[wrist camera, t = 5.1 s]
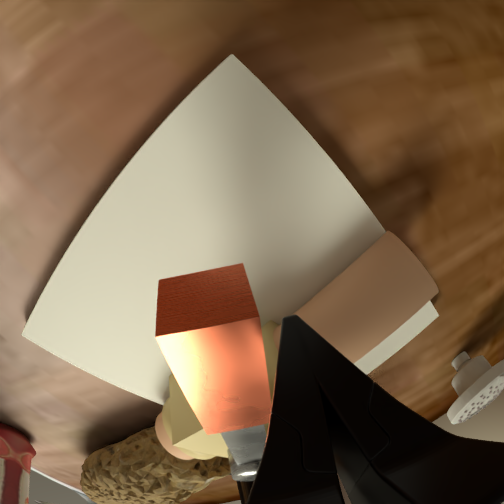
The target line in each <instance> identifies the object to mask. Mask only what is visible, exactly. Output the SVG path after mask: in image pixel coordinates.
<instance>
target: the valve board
mask: <svg viewBox="0 0 504 504" xmlns="http://www.w3.org/2000/svg"><path fill="white" fill-rule="evenodd" d="M240 263H243V265H244V268H245V271H246V274H247V278H248V281H249V284H250V287H251V290H252V294H253V297H254V300H255V303H256V306H257V309H258V313H259V316H260V322H261V330H262V337H263V344H264V352H265V359H266V367H267V374H268V382H269V389H270V397H271V404H272V400H273V392H274V384H275V376H276V368H277V360H278V351H279V342H280V334H281V324H282V318H283V317H286V316H290V315H294V314H296V315H298V316H299V317H300V318H301V319H302V320H304V321H305V322H306V323H307V324H308V325H309V326H310V327H312V328H313V329H314V330H315V331H316V332H317V333H319V334H320V335H321V336H322V337H323V338H324V339H325V340H327V341H328V342H329V343H330V344H331V345H332V346H333V347H335V348H336V349H337V350H338V351H339V352H340V353H342V354H343V355H344V356H345V357H346V358H347V359H349V360H350V361H351V362H352V363H353V364H354V365H356V366H357V367H358V368H359V369H360V370H361V371H363V372H364V373H365V374H366V375H367V374H369V373H370V372H371V371H373V370H374V369H375V368H377V367H378V366H379V365H381V364H382V363H383V362H384V361H386V360H387V359H388V358H390V357H391V356H392V355H393V354H395V353H396V352H397V351H398V350H400V349H401V348H402V347H403V346H405V345H406V344H407V343H408V342H409V341H411V340H412V339H413V338H414V337H415V336H416V335H418V334H419V333H420V332H421V331H422V330H423V329H425V328H426V327H427V326H428V325H429V324H430V323H431V322H432V321H434V320H435V319H436V318H437V317H438V316H439V315H438V313H437V311H436V310H435V308H434V306H433V304H432V303H431V301H430V300H431V299H432V298H433V297H434V296H435V295H436V294H437V293H438V292H439V290H438V287H437V285H436V284H435V282H434V280H433V279H432V277H431V276H430V274H429V273H428V271H427V270H426V269H425V267H424V266H423V265H422V263H421V262H420V261H419V260H418V258H417V257H416V256H415V255H414V254H413V253H412V252H411V250H410V249H409V248H408V247H407V246H406V245H405V244H404V243H403V242H402V241H401V240H400V239H399V238H398V237H397V236H396V235H394V234H393V233H392V232H390V231H387V232H386V231H385V230H384V228H383V227H382V225H381V224H380V222H379V221H378V220H377V218H376V217H375V215H374V214H373V213H372V211H371V210H370V209H369V207H368V206H367V205H366V203H365V202H364V201H363V199H362V198H361V197H360V195H359V194H358V193H357V191H356V190H355V189H354V187H353V186H352V185H351V183H350V182H349V181H348V180H347V178H346V177H345V176H344V175H343V173H342V172H341V171H340V170H339V168H338V167H337V166H336V165H335V163H334V162H333V161H332V160H331V159H330V157H329V156H328V155H327V154H326V152H325V151H324V150H323V149H322V148H321V147H320V145H319V144H318V143H317V142H316V141H315V140H314V138H313V137H312V136H311V135H310V134H309V133H308V131H307V130H306V129H305V128H304V127H303V126H302V125H301V124H300V122H299V121H298V120H297V119H296V118H295V117H294V116H293V115H292V114H291V113H290V111H289V110H288V109H287V108H286V107H285V106H284V105H283V104H282V103H281V102H280V101H279V100H278V99H277V98H276V97H275V96H274V94H273V93H272V92H271V91H270V90H269V89H268V88H267V87H266V86H265V85H264V84H263V83H262V82H261V81H260V80H259V79H258V78H257V77H256V76H255V75H254V74H253V73H252V72H251V71H250V70H249V69H248V68H247V67H246V66H244V65H243V64H242V63H241V62H240V61H239V60H238V59H237V58H236V57H235V56H234V55H233V54H231V55H229V56H228V57H227V58H226V59H225V60H223V61H222V62H221V63H220V64H219V65H218V66H217V67H216V68H215V69H214V70H213V71H212V72H211V73H210V74H209V75H207V76H206V77H205V78H204V79H203V80H202V81H201V82H200V83H199V84H198V85H197V86H196V87H195V88H194V89H193V90H192V91H191V92H190V93H189V94H188V95H187V96H186V97H185V98H184V99H183V100H182V102H181V103H180V104H179V105H178V106H177V107H176V108H175V109H174V110H173V111H172V112H171V113H170V114H169V115H168V116H167V118H166V119H165V120H164V121H163V122H162V123H161V124H160V125H159V126H158V128H157V129H156V130H155V131H154V132H153V133H152V134H151V136H150V137H149V138H148V139H147V140H146V141H145V143H144V144H143V145H142V146H141V147H140V149H139V150H138V151H137V152H136V153H135V155H134V156H133V157H132V158H131V160H130V161H129V162H128V163H127V165H126V166H125V167H124V168H123V170H122V171H121V172H120V174H119V175H118V176H117V177H116V179H115V180H114V181H113V183H112V184H111V185H110V187H109V188H108V189H107V191H106V192H105V194H104V195H103V196H102V198H101V199H100V200H99V202H98V203H97V205H96V206H95V208H94V209H93V210H92V212H91V213H90V215H89V216H88V218H87V219H86V221H85V222H84V224H83V225H82V227H81V228H80V230H79V231H78V233H77V234H76V236H75V237H74V239H73V240H72V242H71V244H70V245H69V247H68V248H67V250H66V252H65V253H64V255H63V257H62V258H61V260H60V262H59V263H58V265H57V267H56V268H55V270H54V272H53V274H52V275H51V277H50V279H49V281H48V282H47V284H46V286H45V288H44V290H43V291H42V293H41V295H40V297H39V299H38V301H37V303H36V305H35V307H34V309H33V311H32V313H31V315H30V317H29V319H28V321H27V323H26V325H25V327H24V330H23V332H22V334H21V335H22V336H24V337H25V338H27V339H28V340H30V341H32V342H33V343H35V344H37V345H38V346H40V347H42V348H43V349H45V350H47V351H49V352H50V353H52V354H54V355H56V356H57V357H59V358H61V359H63V360H65V361H67V362H68V363H70V364H72V365H74V366H76V367H78V368H80V369H82V370H84V371H86V372H88V373H90V374H92V375H94V376H96V377H98V378H100V379H102V380H104V381H106V382H109V383H111V384H113V385H115V386H117V387H120V388H122V389H124V390H127V391H129V392H131V393H134V394H136V395H138V396H141V397H143V398H146V399H148V400H151V401H153V402H156V403H159V404H161V405H164V406H163V409H162V412H161V413H160V414H159V415H158V416H157V418H156V422H155V430H156V434H157V437H158V439H159V441H160V443H161V444H162V446H163V447H164V448H165V449H166V450H167V451H168V452H169V453H170V454H172V455H173V456H175V457H177V458H180V459H184V460H190V459H194V458H196V459H201V460H206V459H211V458H213V457H215V456H220V457H226V458H228V453H227V450H228V447H227V445H226V443H225V441H224V439H223V437H222V435H221V433H216V434H210V435H207V433H206V432H205V430H204V428H203V427H202V425H201V423H200V422H199V420H198V418H197V416H196V415H195V413H194V411H193V409H192V408H191V406H190V404H189V402H188V400H187V399H186V397H185V395H184V393H183V391H182V389H181V387H180V386H179V384H178V382H177V380H176V378H175V376H174V374H173V372H172V370H171V368H170V366H169V364H168V362H167V360H166V358H165V356H164V354H163V352H162V350H161V348H160V346H159V344H158V342H157V340H156V337H155V331H156V311H157V295H158V281H159V280H160V279H165V278H170V277H175V276H180V275H185V274H190V273H195V272H200V271H205V270H210V269H215V268H220V267H225V266H230V265H235V264H240ZM264 426H265V431H266V436H267V433H268V427H269V423H267V424H264Z"/></svg>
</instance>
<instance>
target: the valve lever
mask: <svg viewBox="0 0 504 504" xmlns="http://www.w3.org/2000/svg"><path fill="white" fill-rule="evenodd" d="M155 337H156V340H157V342H158V344H159V346H160V348H161V350H162V352H163V354H164V356H165V358H166V360H167V362H168V364H169V366H170V368H171V370H172V372H173V374H174V376H175V378H176V380H177V382H178V384H179V386H180V387H181V389H182V391H183V393H184V395H185V397H186V399H187V400H188V402H189V404H190V406H191V408H192V409H193V411H194V413H195V415H196V416H197V418H198V420H199V422H200V423H201V425H202V427H203V428H204V430H205V432H206V433H207V435H210V434H216V433H221V435H222V437H223V439H224V441H225V443H226V445H227V447H228V450H227V453H228V459H229V464H230V469H231V474H232V478H233V479H234V480H236V481H254V479H255V476H256V473H257V470H258V467H259V464H260V461H261V458H262V454H263V451H264V447H265V443H266V438H267V436H266V431H265V426H264V424H267V423H269V421H270V415H271V407H272V404H271V397H270V389H269V382H268V374H267V367H266V359H265V352H264V344H263V337H262V330H261V322H260V316H259V313H258V309H257V306H256V303H255V300H254V297H253V294H252V290H251V287H250V284H249V281H248V278H247V274H246V271H245V268H244V265H243V263H240V264H235V265H230V266H225V267H220V268H215V269H210V270H205V271H200V272H195V273H190V274H185V275H180V276H175V277H170V278H165V279H160V280H159V281H158V295H157V311H156V331H155Z"/></svg>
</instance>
